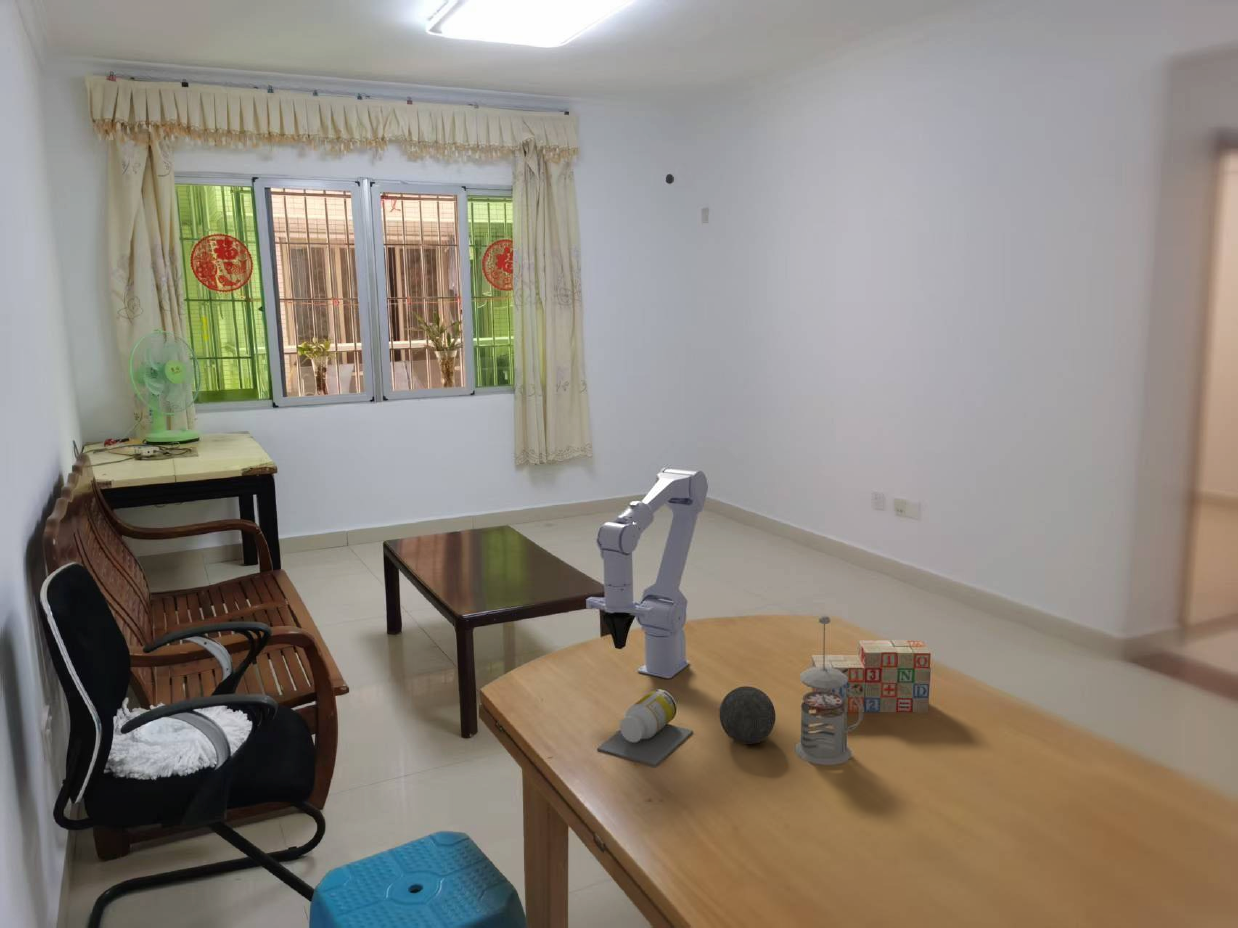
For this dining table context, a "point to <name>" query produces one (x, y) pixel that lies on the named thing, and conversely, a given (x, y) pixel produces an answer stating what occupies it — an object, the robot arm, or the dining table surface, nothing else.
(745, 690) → the decorative ball
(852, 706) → the stack of blocks
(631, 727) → the pill bottle
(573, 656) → the dining table surface
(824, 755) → the french press
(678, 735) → the mat
